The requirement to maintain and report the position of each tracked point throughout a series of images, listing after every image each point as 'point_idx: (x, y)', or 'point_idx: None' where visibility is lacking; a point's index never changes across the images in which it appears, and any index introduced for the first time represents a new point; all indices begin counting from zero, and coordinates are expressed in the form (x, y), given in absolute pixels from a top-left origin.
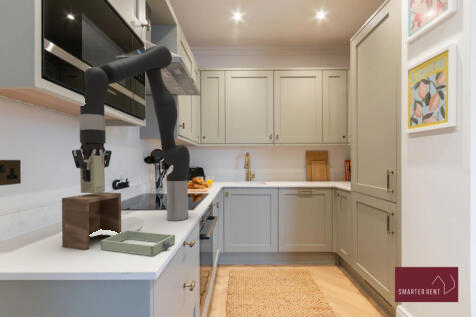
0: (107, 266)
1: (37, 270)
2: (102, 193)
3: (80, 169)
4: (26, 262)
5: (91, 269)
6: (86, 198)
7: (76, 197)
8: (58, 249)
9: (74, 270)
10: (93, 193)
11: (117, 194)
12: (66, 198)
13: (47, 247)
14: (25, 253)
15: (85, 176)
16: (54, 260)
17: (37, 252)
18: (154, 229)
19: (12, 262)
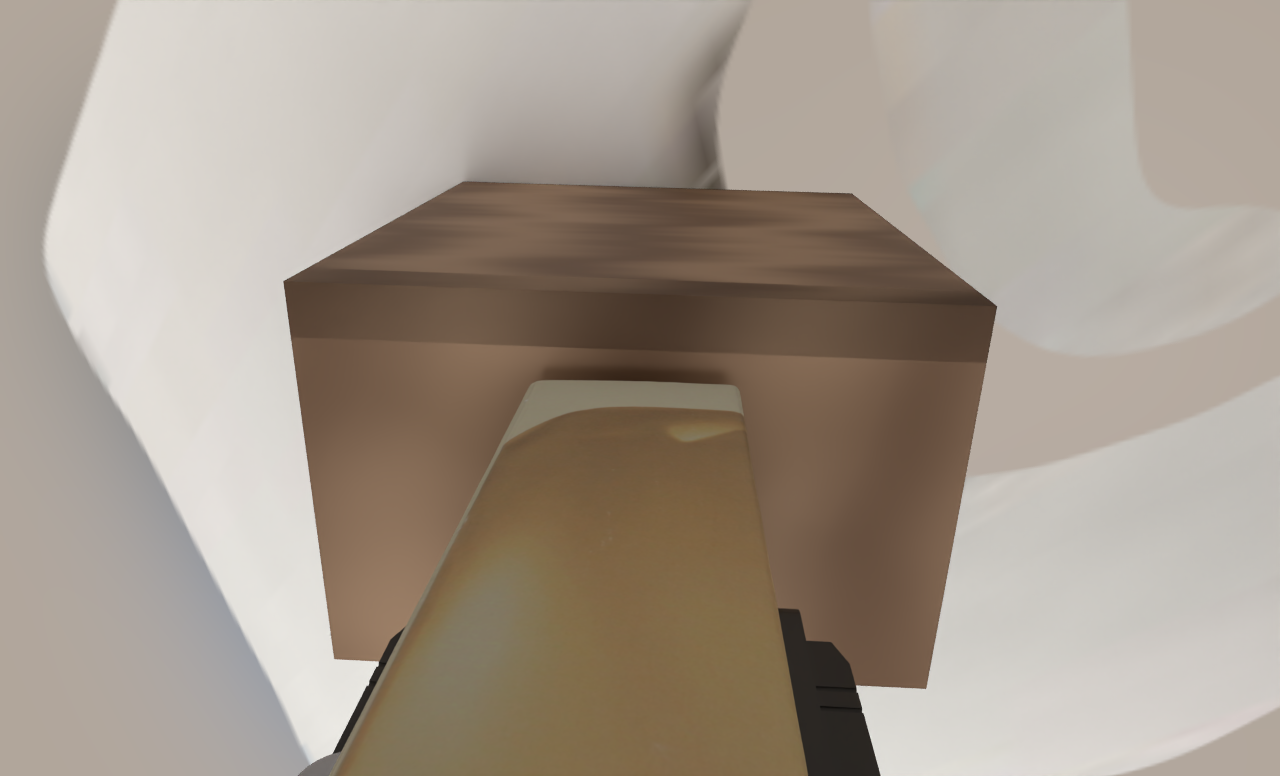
0: (341, 702)
1: (143, 417)
2: (846, 472)
3: (406, 635)
4: (169, 230)
5: (283, 659)
6: (391, 619)
7: (403, 434)
8: (415, 202)
9: (237, 595)
10: (822, 331)
11: (855, 677)
12: (295, 370)
13: (413, 59)
14: (255, 23)
15: None
16: (271, 375)
17: (308, 101)
18: (1062, 563)
19: (123, 132)
